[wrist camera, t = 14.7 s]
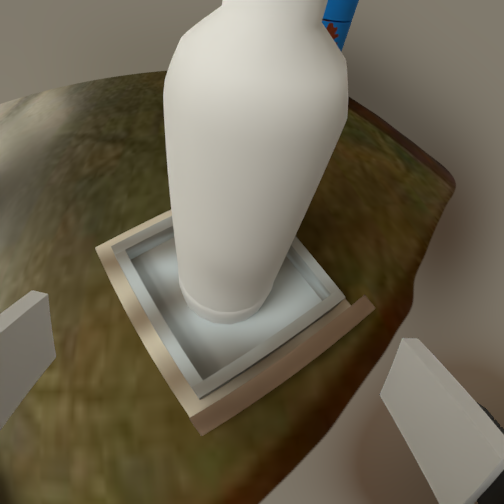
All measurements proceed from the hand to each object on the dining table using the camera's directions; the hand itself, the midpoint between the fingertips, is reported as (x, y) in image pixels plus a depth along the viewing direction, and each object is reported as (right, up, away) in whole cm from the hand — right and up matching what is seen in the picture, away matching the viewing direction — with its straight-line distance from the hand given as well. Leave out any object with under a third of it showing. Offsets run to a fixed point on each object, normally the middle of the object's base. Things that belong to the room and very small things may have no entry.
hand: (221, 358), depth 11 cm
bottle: (-1, +1, +19) cm, 19 cm away
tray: (-2, 0, +20) cm, 20 cm away
